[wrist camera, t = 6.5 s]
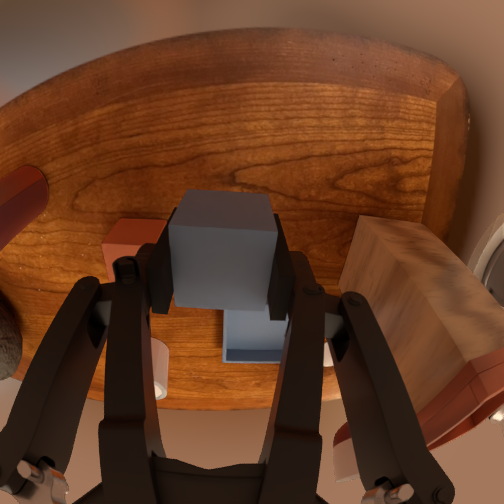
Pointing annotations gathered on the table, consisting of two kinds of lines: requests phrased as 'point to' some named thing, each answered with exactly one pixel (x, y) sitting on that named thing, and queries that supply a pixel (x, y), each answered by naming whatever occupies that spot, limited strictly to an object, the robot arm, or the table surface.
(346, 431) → the wineglass
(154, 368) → the shot glass
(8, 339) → the vase
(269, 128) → the table surface
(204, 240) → the slate block
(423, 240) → the stand
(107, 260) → the terracotta block
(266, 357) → the tray
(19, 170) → the beverage can
